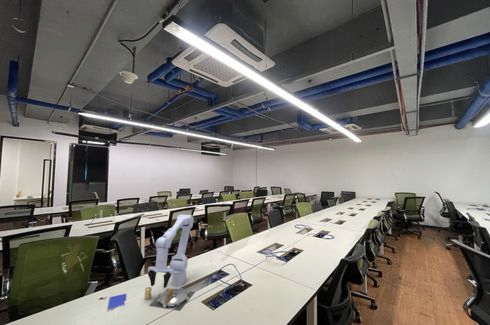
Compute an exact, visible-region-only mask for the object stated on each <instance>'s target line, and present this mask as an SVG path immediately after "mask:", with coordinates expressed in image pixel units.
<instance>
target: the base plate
mask: <svg viewBox="0 0 490 325" xmlns="http://www.w3.org/2000/svg"><path fill="white" fill-rule="evenodd" d="M170 288H171V287H167V288H166V289H165V290H164V291H163V292H165V291H167V290H168V289H170ZM188 291H189V294H188V295H187V297H189V300H188V301H184V302H183V303H181V304H180V305H179V306H177V307H176V305H175V306H167V307H166V308H165V307H163V305H162V304H160V303H157V302H156V300H157V299H159V296H158V297H156V299H154V301H152V302H151V303H150V304H149V305H148V307H153V308H158V309H159V308H161V309H164V310H165V309H166V310H172V311H178V312H181V311H182V309H183V308H184V307H185V306H186V304H188V302H189V301H190V299H191V298H192V297H193V296H194V295H195V293H196V291H191V290H188Z"/></svg>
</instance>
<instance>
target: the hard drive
mask: <svg viewBox="0 0 490 325" xmlns="http://www.w3.org/2000/svg"><path fill="white" fill-rule="evenodd" d="M125 302H127V293H122V294H118V295H113V296H110V297H109V300H108V305H107V310H106V312H110V311H114V310H115V309H117V308H119V307H123V306H125V304H126V303H125Z"/></svg>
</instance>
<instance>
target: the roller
mask: <svg viewBox="0 0 490 325" xmlns="http://www.w3.org/2000/svg"><path fill="white" fill-rule="evenodd" d="M151 298H152V286H150V287H149V286H148V287H146V288H145V290H144V300H145V301H148V300H151Z"/></svg>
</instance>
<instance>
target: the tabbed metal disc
mask: <svg viewBox="0 0 490 325" xmlns="http://www.w3.org/2000/svg"><path fill="white" fill-rule="evenodd" d="M169 288H170V289H168V288H167V289H168V290H167V289H166V290H167V291H166V290H164V291H165V292H164V291H163V292H159V293H158V297H159V299H157V298H156V299H157V300H156V299H155V300H156V302H157V303H160V304H162V305H163V307H165V308H166V307H167V306H175V305H176V307H177V306H179V305H180V304H181V303H183V302H184V301H188V300H189V301H190V299H189V297H187V295H188V294H189V291H190V290H185V289H183V287H178V288H171V287H169ZM189 301H188V302H189ZM165 308H164V309H165Z"/></svg>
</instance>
